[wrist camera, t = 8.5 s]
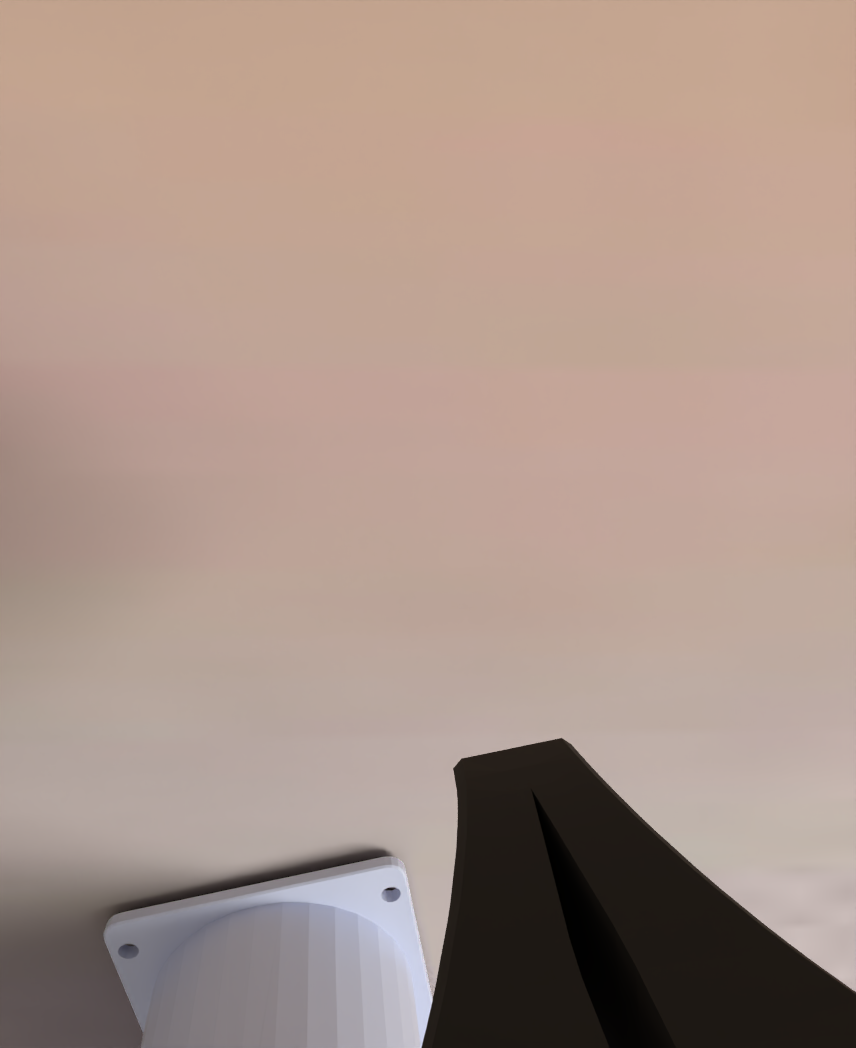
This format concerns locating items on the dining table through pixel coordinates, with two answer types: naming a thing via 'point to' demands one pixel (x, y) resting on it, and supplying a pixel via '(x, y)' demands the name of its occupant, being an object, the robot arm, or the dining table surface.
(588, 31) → the dining table surface
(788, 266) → the dining table surface
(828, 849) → the dining table surface
